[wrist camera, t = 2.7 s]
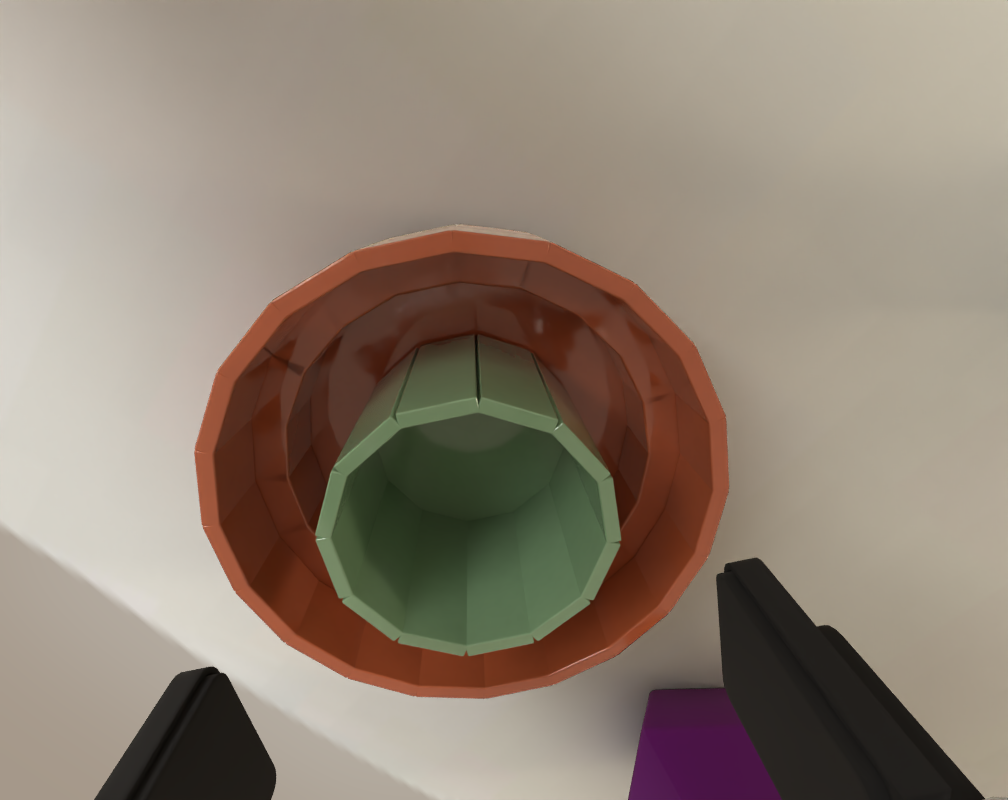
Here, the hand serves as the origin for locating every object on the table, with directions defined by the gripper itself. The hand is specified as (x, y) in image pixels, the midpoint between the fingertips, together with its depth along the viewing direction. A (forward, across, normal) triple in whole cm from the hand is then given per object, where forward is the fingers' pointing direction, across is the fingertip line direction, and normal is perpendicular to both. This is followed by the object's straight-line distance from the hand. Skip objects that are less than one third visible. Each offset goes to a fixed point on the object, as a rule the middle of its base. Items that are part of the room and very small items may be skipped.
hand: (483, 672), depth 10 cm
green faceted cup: (+10, 0, 0) cm, 10 cm away
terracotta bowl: (+11, 0, 0) cm, 11 cm away
